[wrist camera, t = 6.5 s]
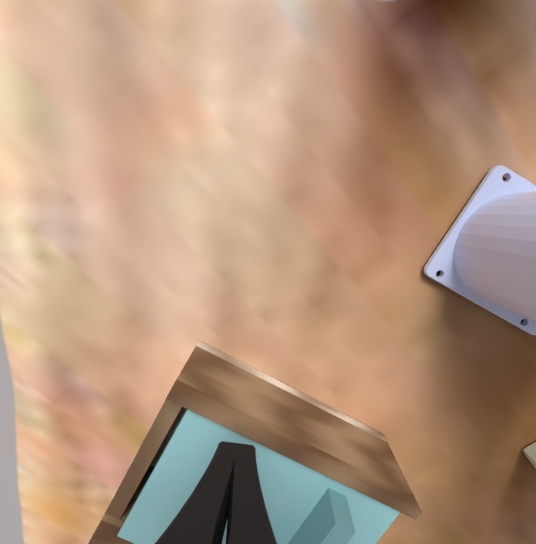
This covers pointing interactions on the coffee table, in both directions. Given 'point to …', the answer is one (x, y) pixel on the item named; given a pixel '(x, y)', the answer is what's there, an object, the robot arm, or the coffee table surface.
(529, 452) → the skincare box
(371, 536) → the lid
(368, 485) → the box
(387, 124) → the coffee table surface
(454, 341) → the coffee table surface
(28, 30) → the coffee table surface
